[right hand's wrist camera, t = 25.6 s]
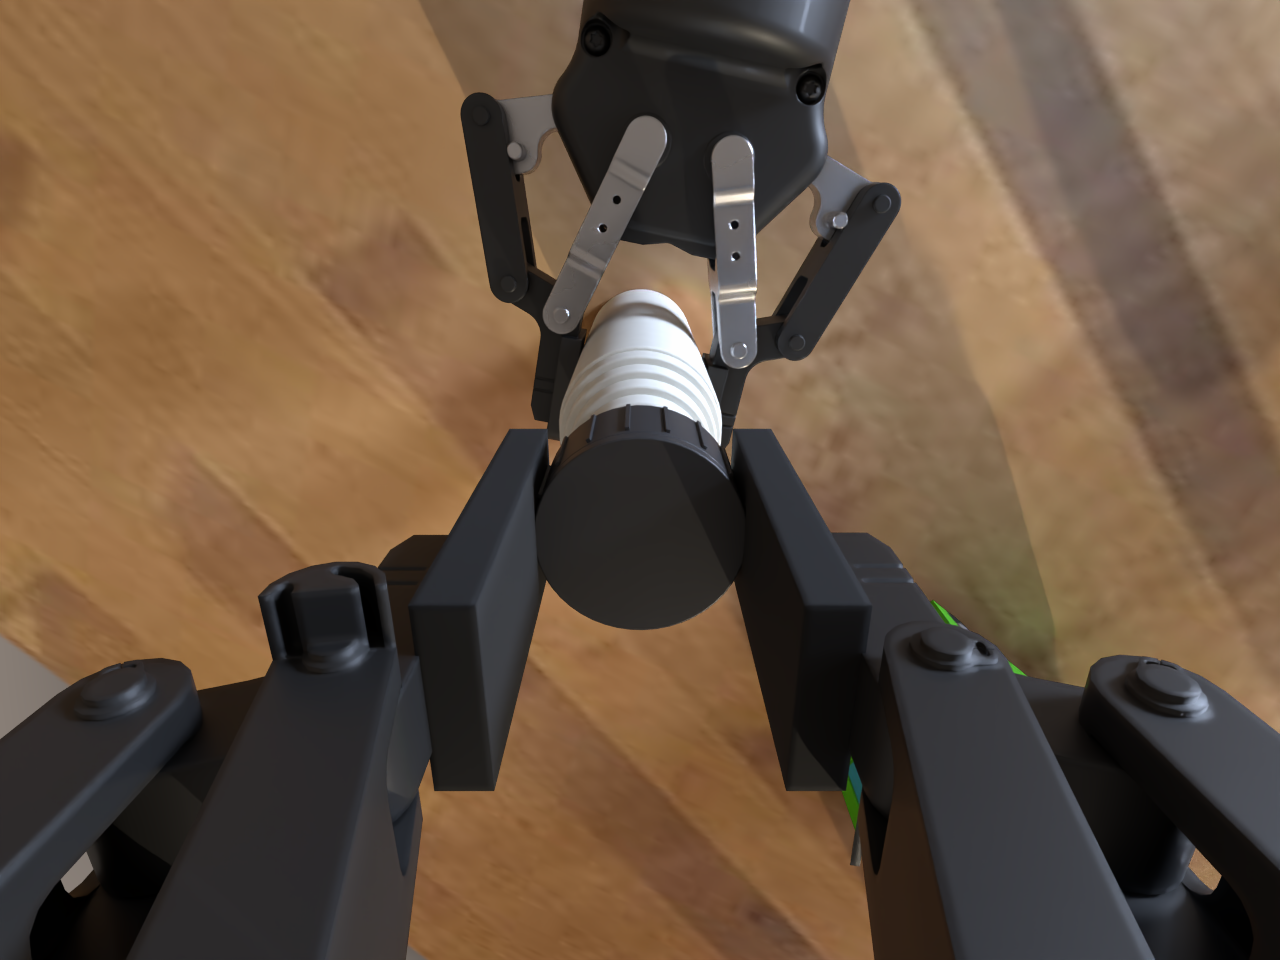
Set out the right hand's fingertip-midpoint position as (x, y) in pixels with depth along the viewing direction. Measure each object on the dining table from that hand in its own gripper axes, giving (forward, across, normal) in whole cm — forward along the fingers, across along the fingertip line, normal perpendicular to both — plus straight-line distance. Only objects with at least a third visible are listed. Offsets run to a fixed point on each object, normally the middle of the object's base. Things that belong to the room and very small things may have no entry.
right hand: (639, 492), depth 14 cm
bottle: (+17, 0, 0) cm, 17 cm away
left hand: (+11, 0, -3) cm, 11 cm away
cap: (-2, 0, 0) cm, 2 cm away
